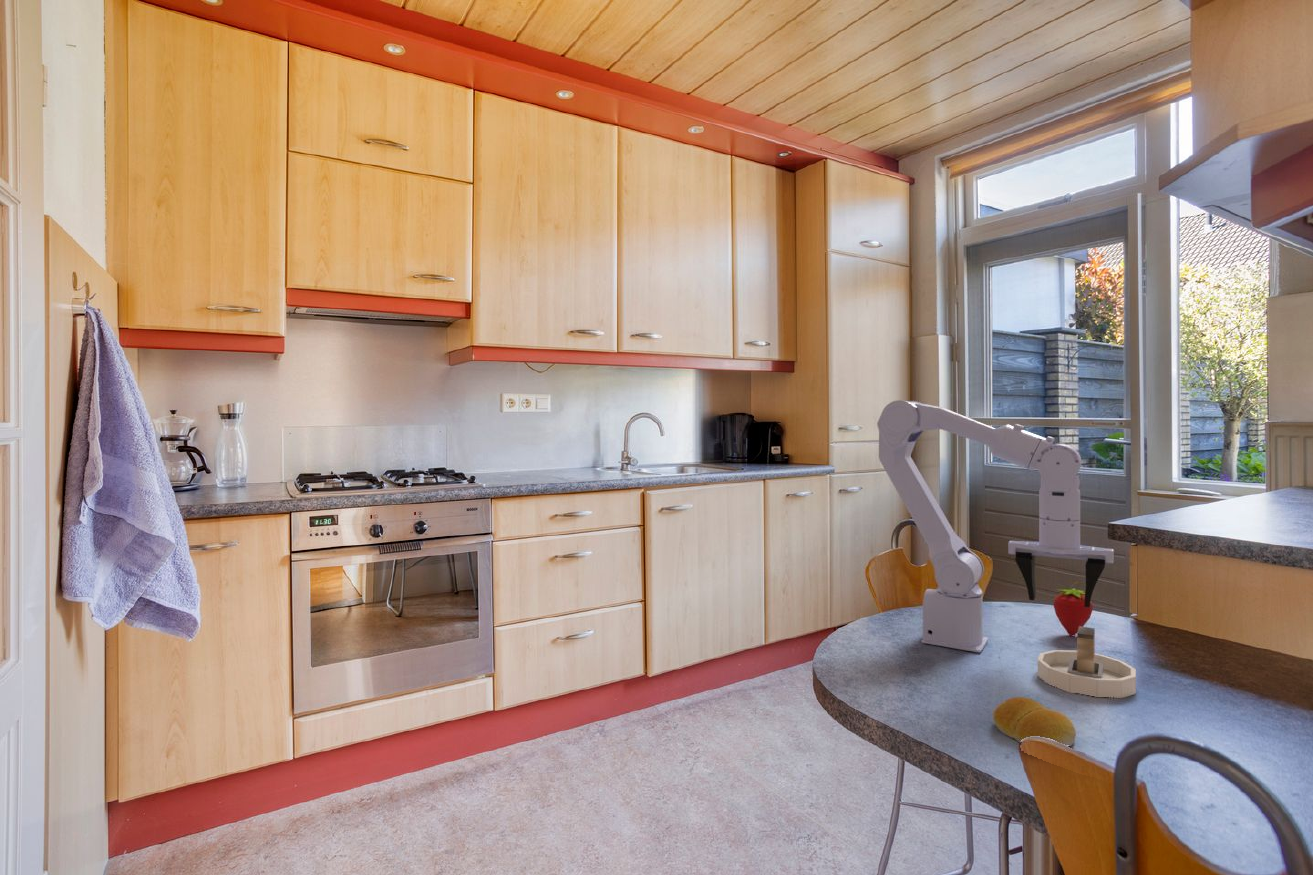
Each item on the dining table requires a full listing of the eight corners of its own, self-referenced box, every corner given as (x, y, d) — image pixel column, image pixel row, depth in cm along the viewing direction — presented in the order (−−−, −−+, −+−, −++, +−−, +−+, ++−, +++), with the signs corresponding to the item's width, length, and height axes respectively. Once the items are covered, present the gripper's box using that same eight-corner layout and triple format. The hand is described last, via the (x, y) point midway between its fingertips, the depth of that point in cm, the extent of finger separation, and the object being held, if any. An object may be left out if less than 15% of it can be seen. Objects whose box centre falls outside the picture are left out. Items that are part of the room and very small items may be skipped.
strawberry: (1097, 634, 122) (1097, 579, 121) (1086, 644, 116) (1086, 587, 116) (1060, 627, 126) (1060, 574, 126) (1047, 636, 121) (1048, 581, 120)
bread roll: (1044, 758, 79) (1044, 725, 79) (981, 726, 87) (981, 695, 87) (1093, 745, 82) (1093, 712, 82) (1028, 715, 90) (1028, 685, 90)
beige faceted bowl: (1034, 685, 99) (1034, 668, 99) (1043, 660, 109) (1043, 645, 109) (1136, 704, 92) (1136, 686, 92) (1135, 676, 102) (1135, 659, 102)
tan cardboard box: (1077, 680, 99) (1077, 633, 99) (1078, 671, 103) (1078, 626, 102) (1093, 683, 98) (1093, 635, 98) (1094, 674, 101) (1094, 628, 101)
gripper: (1005, 518, 110) (1005, 601, 110) (1113, 525, 101) (1112, 615, 102) (1011, 513, 115) (1011, 591, 116) (1114, 519, 107) (1113, 604, 107)
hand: (1059, 602), depth 109 cm, fingers open, 7 cm apart
